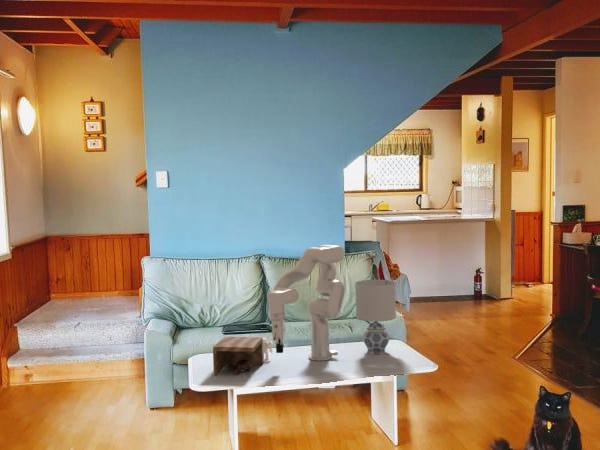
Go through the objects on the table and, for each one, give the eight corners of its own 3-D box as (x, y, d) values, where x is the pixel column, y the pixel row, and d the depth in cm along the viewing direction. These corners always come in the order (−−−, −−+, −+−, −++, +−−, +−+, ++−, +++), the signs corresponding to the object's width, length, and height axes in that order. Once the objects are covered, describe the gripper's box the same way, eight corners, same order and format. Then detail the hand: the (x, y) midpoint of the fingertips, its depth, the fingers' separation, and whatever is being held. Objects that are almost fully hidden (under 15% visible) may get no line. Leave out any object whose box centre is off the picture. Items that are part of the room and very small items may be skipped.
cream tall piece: (273, 357, 310) (272, 335, 309) (273, 359, 306) (273, 337, 305) (256, 358, 308) (255, 336, 308) (256, 360, 305) (255, 338, 304)
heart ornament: (248, 372, 295) (257, 364, 287) (229, 381, 286) (239, 374, 279) (242, 361, 296) (251, 353, 289) (223, 370, 288) (232, 362, 281)
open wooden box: (263, 364, 298) (262, 337, 297) (254, 376, 278) (253, 347, 278) (225, 363, 301) (224, 336, 300) (213, 375, 281) (212, 346, 281)
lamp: (394, 358, 303) (393, 286, 301) (353, 356, 308) (352, 285, 306) (398, 347, 324) (397, 280, 322) (359, 346, 329) (358, 279, 327)
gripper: (282, 319, 277) (284, 357, 278) (287, 311, 291) (289, 347, 293) (266, 320, 278) (269, 357, 280) (272, 312, 292) (275, 347, 294)
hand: (279, 352), depth 286 cm, fingers closed
